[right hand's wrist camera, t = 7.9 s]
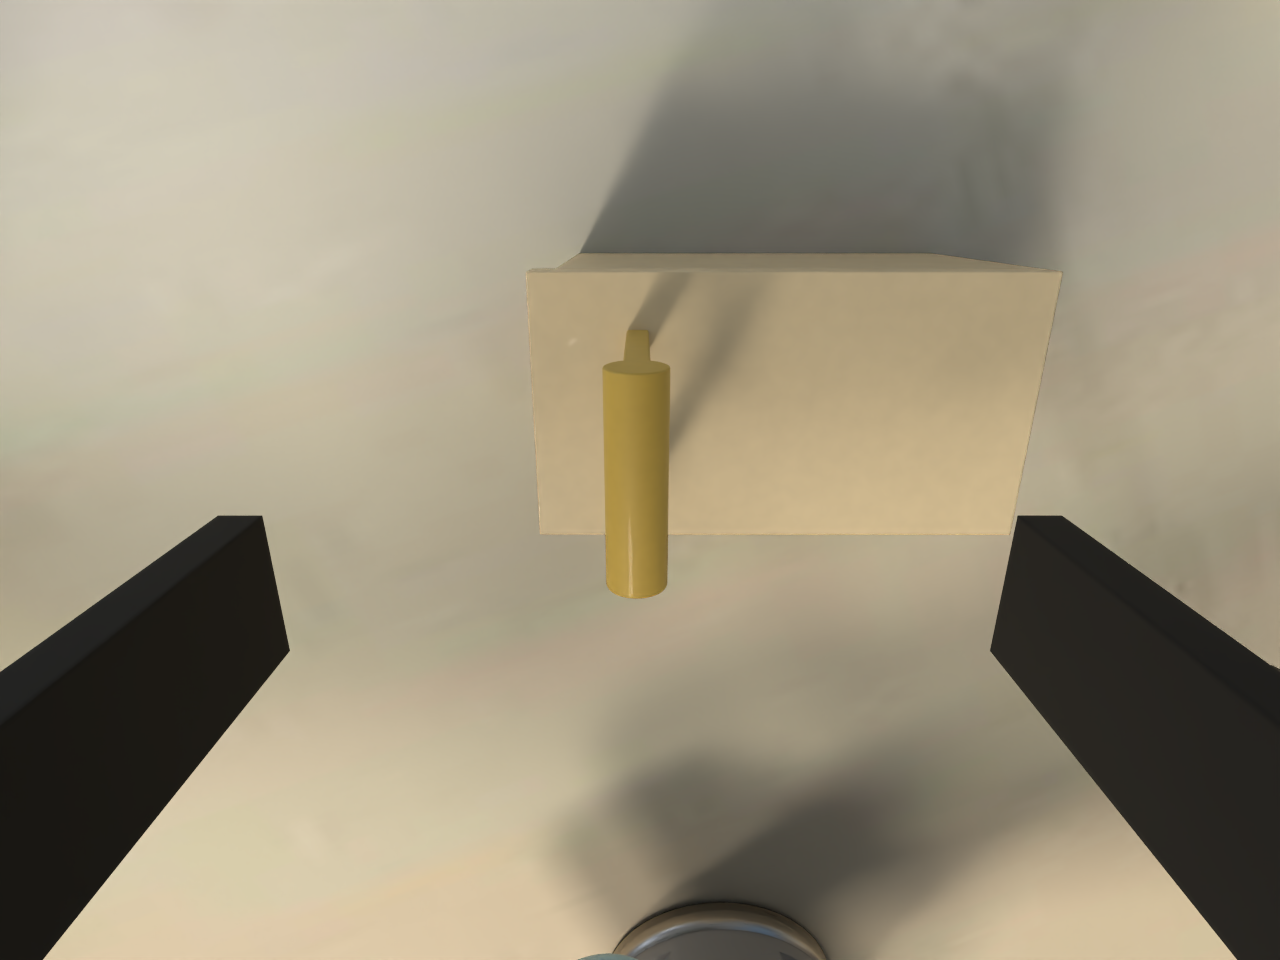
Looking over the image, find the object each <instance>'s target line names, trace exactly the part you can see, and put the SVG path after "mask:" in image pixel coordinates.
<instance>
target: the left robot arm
mask: <svg viewBox="0 0 1280 960" xmlns="http://www.w3.org/2000/svg"><path fill="white" fill-rule="evenodd" d="M578 960H826V958H825V955H824V953H823V951H822V949H821V947H820V946H819V944H818V943H817V942H816V940H815V939H814V938H813V937H812V936H811V935H810V934H809V933H808V932H807V931H806V930H805V929H804V928H802V927H801V926H800V925H798V924H797V923H795V922H794V921H792V920H790V919H788V918H787V917H785V916H782V915H780V914H778V913H776V912H773V911H770V910H767V909H764V908H760V907H756V906H751V905H746V904H738V903H705V904H696V905H691V906H686V907H682V908H678V909H674V910H672V911H669V912H666V913H663V914H661V915H659V916H656V917H654V918H652V919H650V920H648V921H647V922H645V923H643V924H642V925H640V926H639V927H637V928H636V929H635V930H633V931H632V932H631V933H630V934H629V935H628V936H627V937H626V938H625V939H623V941H622V942H621V943H620V944H619V945H618V947H617V948H616V950H615V951H614V953H613V954H597V955H592V956H588V957H584V958H581V959H578Z"/></svg>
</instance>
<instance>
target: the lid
mask: <svg viewBox="0 0 1280 960" xmlns="http://www.w3.org/2000/svg"><path fill="white" fill-rule="evenodd" d="M1062 275H1063V272H1062V271H1055V270H1048V269H531V270H529V271H527V272H526V289H527V307H528V326H529V344H530V362H531V380H532V399H533V417H534V435H535V454H536V472H537V490H538V509H539V527H540V534H605V537H606V584H607V587H608V588H609V590H610V591H611V592H613V593H614V594H616V595H619V596H622V597H626V598H647V597H652V596H655V595H657V594H659V593H661V592H662V591H663V590H664V589H665V588H666V586H667V565H668V535H1010V532H1011V527H1012V522H1013V517H1014V512H1015V507H1016V502H1017V497H1018V492H1019V487H1020V482H1021V478H1022V473H1023V468H1024V463H1025V458H1026V453H1027V448H1028V443H1029V438H1030V433H1031V428H1032V423H1033V418H1034V413H1035V408H1036V403H1037V398H1038V393H1039V388H1040V383H1041V379H1042V374H1043V369H1044V364H1045V359H1046V354H1047V349H1048V344H1049V339H1050V334H1051V329H1052V324H1053V319H1054V314H1055V309H1056V304H1057V299H1058V294H1059V289H1060V284H1061V280H1062Z"/></svg>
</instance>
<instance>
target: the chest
mask: <svg viewBox="0 0 1280 960" xmlns="http://www.w3.org/2000/svg"><path fill="white" fill-rule="evenodd" d="M556 269H1039V268H1033V267H1026V266H1019V265H1012V264H1005V263H997V262H990V261H983V260H976V259H969V258H961V257H954V256H947V255H940V254H932V253H580V254H578V255H576V256H574V257H573V258H571V259H570V260H568V261H567V262H565V263H564V264H562V265H561V266H559V267H558V268H556Z"/></svg>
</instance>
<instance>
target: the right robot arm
mask: <svg viewBox="0 0 1280 960" xmlns="http://www.w3.org/2000/svg"><path fill="white" fill-rule="evenodd" d="M289 651H290V649H289V644H288V639H287V635H286V630H285V625H284V620H283V615H282V610H281V605H280V600H279V595H278V590H277V586H276V581H275V576H274V571H273V566H272V561H271V556H270V551H269V546H268V541H267V537H266V532H265V527H264V522H263V517H262V516H217V517H216V518H214V519H213V520H211V521H210V522H209V523H207V524H206V525H205V526H203V527H202V528H200V529H199V530H198V531H196V532H195V533H193V534H192V535H191V536H189V537H188V538H186V539H185V540H184V541H182V542H181V543H179V544H178V545H177V546H175V547H174V548H172V549H171V550H170V551H168V552H167V553H165V554H164V555H163V556H161V557H160V558H159V559H157V560H156V561H154V562H153V563H152V564H150V565H149V566H147V567H146V568H145V569H143V570H142V571H140V572H139V573H138V574H136V575H135V576H133V577H132V578H131V579H129V580H128V581H126V582H125V583H124V584H122V585H121V586H120V587H118V588H117V589H115V590H114V591H113V592H111V593H110V594H108V595H107V596H106V597H104V598H103V599H101V600H100V601H99V602H97V603H96V604H94V605H93V606H92V607H90V608H89V609H87V610H86V611H85V612H83V613H82V614H80V615H79V616H78V617H76V618H75V619H74V620H72V621H71V622H69V623H68V624H67V625H65V626H64V627H62V628H61V629H60V630H58V631H57V632H55V633H54V634H53V635H51V636H50V637H48V638H47V639H46V640H44V641H43V642H41V643H40V644H39V645H37V646H36V647H34V648H33V649H32V650H30V651H29V652H28V653H26V654H25V655H23V656H22V657H21V658H19V659H18V660H16V661H15V662H14V663H12V664H11V665H9V666H8V667H7V668H5V669H4V670H2V671H1V672H0V960H43V959H44V957H45V956H46V955H47V954H48V952H49V951H50V950H51V949H52V947H53V946H54V945H55V944H56V942H57V941H58V940H59V939H60V937H61V936H62V935H63V934H64V932H65V931H66V930H67V929H68V927H69V926H70V925H71V924H72V922H73V921H74V920H75V919H76V917H77V916H78V915H79V914H80V912H81V911H82V910H83V909H84V907H85V906H86V905H87V904H88V902H89V901H90V900H91V899H92V897H93V896H94V895H95V894H96V892H97V891H98V890H99V889H100V887H101V886H102V885H103V884H104V882H105V881H106V880H107V879H108V877H109V876H110V875H111V874H112V872H113V871H114V870H115V869H116V867H117V866H118V865H119V864H120V862H121V861H122V860H123V859H124V857H125V856H126V855H127V854H128V852H129V851H130V850H131V849H132V847H133V846H134V845H135V844H136V842H137V841H138V840H139V839H140V837H141V836H142V835H143V834H144V832H145V831H146V830H147V829H148V827H149V826H150V825H151V824H152V822H153V821H154V820H155V819H156V817H157V816H158V815H159V814H160V812H161V811H162V810H163V809H164V807H165V806H166V805H167V804H168V802H169V801H170V800H171V799H172V797H173V796H174V795H175V794H176V792H177V791H178V790H179V789H180V787H181V786H182V785H183V784H184V782H185V781H186V780H187V779H188V777H189V776H190V775H191V774H192V772H193V771H194V770H195V769H196V767H197V766H198V765H199V764H200V762H201V761H202V760H203V759H204V757H205V756H206V755H207V754H208V752H209V751H210V750H211V749H212V747H213V746H214V745H215V744H216V742H217V741H218V740H219V739H220V737H221V736H222V735H223V734H224V732H225V731H226V730H227V729H228V727H229V726H230V725H231V724H232V722H233V721H234V720H235V719H236V717H237V716H238V715H239V714H240V712H241V711H242V710H243V709H244V707H245V706H246V705H247V704H248V702H249V701H250V700H251V699H252V697H253V696H254V695H255V694H256V692H257V691H258V690H259V689H260V687H261V686H262V685H263V684H264V682H265V681H266V680H267V679H268V677H269V676H270V675H271V674H272V672H273V671H274V670H275V669H276V667H277V666H278V665H279V664H280V662H281V661H282V660H283V659H284V657H285V656H286V655H287V654H288V652H289ZM990 651H991V652H992V654H993V655H994V656H995V657H996V659H997V660H998V661H999V662H1000V664H1001V665H1002V666H1003V667H1004V669H1005V670H1006V671H1007V672H1008V674H1009V675H1010V676H1011V677H1012V679H1013V680H1014V681H1015V682H1016V684H1017V685H1018V686H1019V687H1020V689H1021V690H1022V691H1023V692H1024V694H1025V695H1026V696H1027V697H1028V699H1029V700H1030V701H1031V702H1032V704H1033V705H1034V706H1035V707H1036V709H1037V710H1038V711H1039V712H1040V714H1041V715H1042V716H1043V717H1044V719H1045V720H1046V721H1047V722H1048V724H1049V725H1050V726H1051V727H1052V729H1053V730H1054V731H1055V732H1056V734H1057V735H1058V736H1059V737H1060V739H1061V740H1062V741H1063V742H1064V744H1065V745H1066V746H1067V747H1068V749H1069V750H1070V751H1071V752H1072V754H1073V755H1074V756H1075V757H1076V759H1077V760H1078V761H1079V762H1080V764H1081V765H1082V766H1083V767H1084V769H1085V770H1086V771H1087V772H1088V774H1089V775H1090V776H1091V777H1092V779H1093V780H1094V781H1095V782H1096V784H1097V785H1098V786H1099V787H1100V789H1101V790H1102V791H1103V792H1104V794H1105V795H1106V796H1107V797H1108V799H1109V800H1110V801H1111V802H1112V804H1113V805H1114V806H1115V807H1116V809H1117V810H1118V811H1119V812H1120V814H1121V815H1122V816H1123V817H1124V819H1125V820H1126V821H1127V822H1128V824H1129V825H1130V826H1131V827H1132V829H1133V830H1134V831H1135V832H1136V834H1137V835H1138V836H1139V837H1140V839H1141V840H1142V841H1143V842H1144V844H1145V845H1146V846H1147V847H1148V849H1149V850H1150V851H1151V852H1152V854H1153V855H1154V856H1155V857H1156V859H1157V860H1158V861H1159V862H1160V864H1161V865H1162V866H1163V867H1164V869H1165V870H1166V871H1167V872H1168V874H1169V875H1170V876H1171V877H1172V879H1173V880H1174V881H1175V882H1176V884H1177V885H1178V886H1179V887H1180V889H1181V890H1182V891H1183V892H1184V894H1185V895H1186V896H1187V897H1188V899H1189V900H1190V901H1191V902H1192V904H1193V905H1194V906H1195V907H1196V909H1197V910H1198V911H1199V912H1200V914H1201V915H1202V916H1203V917H1204V919H1205V920H1206V921H1207V922H1208V924H1209V925H1210V926H1211V927H1212V929H1213V930H1214V931H1215V932H1216V934H1217V935H1218V936H1219V937H1220V939H1221V940H1222V941H1223V942H1224V944H1225V945H1226V946H1227V947H1228V949H1229V950H1230V951H1231V952H1232V954H1233V955H1234V956H1235V957H1236V959H1237V960H1280V669H1278V668H1276V667H1274V666H1272V665H1269V664H1268V663H1266V662H1265V661H1264V660H1262V659H1261V658H1259V657H1258V656H1257V655H1255V654H1254V653H1252V652H1251V651H1250V650H1248V649H1247V648H1245V647H1244V646H1243V645H1241V644H1240V643H1239V642H1237V641H1236V640H1234V639H1233V638H1232V637H1230V636H1229V635H1227V634H1226V633H1225V632H1223V631H1222V630H1220V629H1219V628H1218V627H1216V626H1215V625H1213V624H1212V623H1211V622H1209V621H1208V620H1206V619H1205V618H1204V617H1202V616H1201V615H1200V614H1198V613H1197V612H1195V611H1194V610H1193V609H1191V608H1190V607H1188V606H1187V605H1186V604H1184V603H1183V602H1181V601H1180V600H1179V599H1177V598H1176V597H1174V596H1173V595H1172V594H1170V593H1169V592H1167V591H1166V590H1165V589H1163V588H1162V587H1160V586H1159V585H1158V584H1156V583H1155V582H1154V581H1152V580H1151V579H1149V578H1148V577H1147V576H1145V575H1144V574H1142V573H1141V572H1140V571H1138V570H1137V569H1135V568H1134V567H1133V566H1131V565H1130V564H1128V563H1127V562H1126V561H1124V560H1123V559H1121V558H1120V557H1119V556H1117V555H1116V554H1115V553H1113V552H1112V551H1110V550H1109V549H1108V548H1106V547H1105V546H1103V545H1102V544H1101V543H1099V542H1098V541H1096V540H1095V539H1094V538H1092V537H1091V536H1089V535H1088V534H1087V533H1085V532H1084V531H1082V530H1081V529H1080V528H1078V527H1077V526H1075V525H1074V524H1073V523H1071V522H1070V521H1069V520H1067V519H1066V518H1064V517H1063V516H1018V517H1017V522H1016V527H1015V532H1014V537H1013V541H1012V546H1011V551H1010V556H1009V561H1008V566H1007V571H1006V576H1005V581H1004V586H1003V590H1002V595H1001V600H1000V605H999V610H998V615H997V620H996V625H995V630H994V635H993V639H992V644H991V649H990Z"/></svg>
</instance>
